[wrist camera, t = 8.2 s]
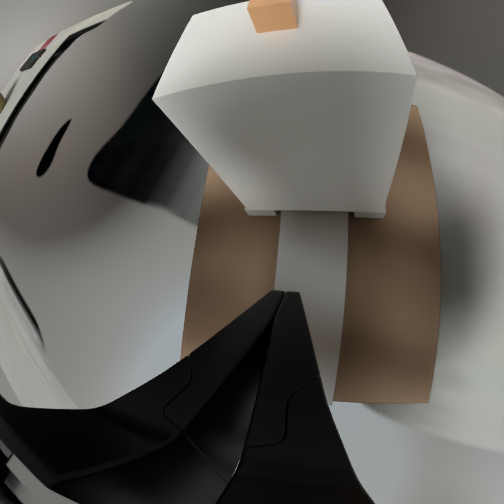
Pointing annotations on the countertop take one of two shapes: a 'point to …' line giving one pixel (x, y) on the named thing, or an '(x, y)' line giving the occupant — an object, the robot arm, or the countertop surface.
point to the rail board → (334, 279)
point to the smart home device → (32, 60)
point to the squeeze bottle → (2, 102)
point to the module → (294, 102)
